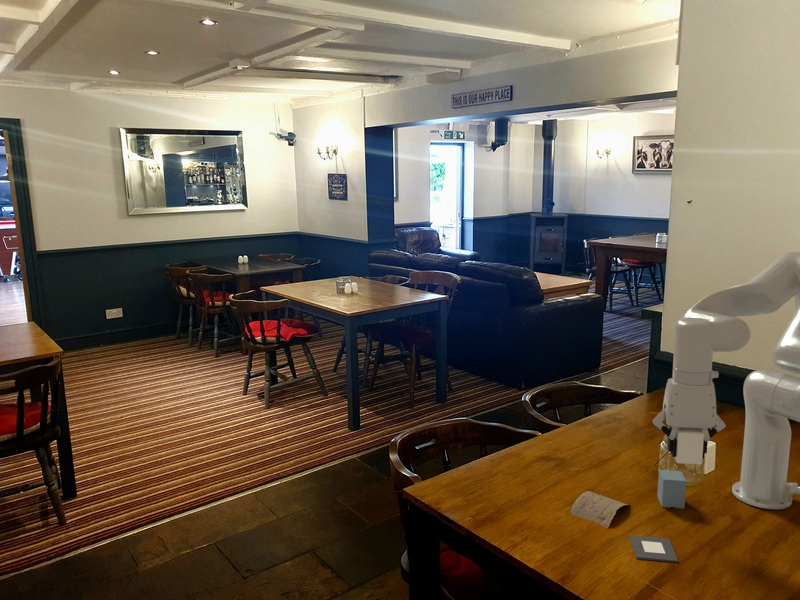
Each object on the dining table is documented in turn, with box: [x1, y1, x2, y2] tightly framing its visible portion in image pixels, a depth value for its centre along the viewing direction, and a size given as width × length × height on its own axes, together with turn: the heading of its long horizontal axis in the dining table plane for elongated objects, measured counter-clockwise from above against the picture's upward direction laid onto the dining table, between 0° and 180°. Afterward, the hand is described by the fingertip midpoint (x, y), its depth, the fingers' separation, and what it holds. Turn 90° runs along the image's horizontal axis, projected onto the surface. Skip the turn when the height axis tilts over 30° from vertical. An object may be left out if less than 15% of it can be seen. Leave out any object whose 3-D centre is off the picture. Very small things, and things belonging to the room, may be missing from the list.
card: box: [629, 534, 679, 563], centre depth 130 cm, size 8×8×1 cm
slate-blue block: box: [656, 469, 687, 509], centre depth 148 cm, size 5×5×7 cm
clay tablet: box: [569, 490, 628, 529], centre depth 146 cm, size 14×10×3 cm
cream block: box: [673, 428, 704, 465], centre depth 136 cm, size 5×5×7 cm
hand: (686, 454), depth 136 cm, fingers closed on cream block, 5 cm apart
